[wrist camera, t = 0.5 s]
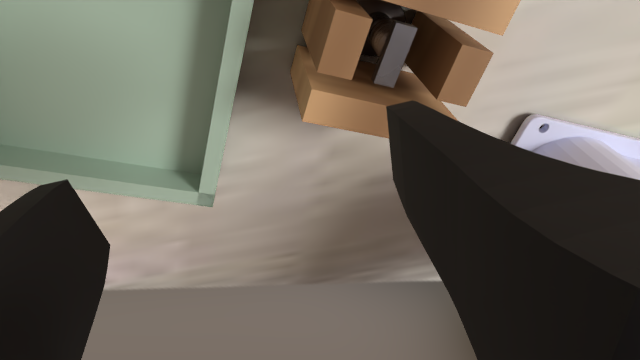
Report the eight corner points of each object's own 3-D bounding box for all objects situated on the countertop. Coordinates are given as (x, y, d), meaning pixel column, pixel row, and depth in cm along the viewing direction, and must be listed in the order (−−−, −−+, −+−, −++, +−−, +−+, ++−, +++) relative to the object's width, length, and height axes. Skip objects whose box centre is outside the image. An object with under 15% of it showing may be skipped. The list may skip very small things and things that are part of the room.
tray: (263, -69, 15) (266, -62, 14) (214, 181, 21) (212, 207, 20) (-77, -176, 13) (-123, -183, 11) (-28, 145, 18) (-53, 172, 17)
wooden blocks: (480, -72, 16) (548, -55, 13) (407, 98, 20) (444, 149, 17) (341, -123, 15) (374, -121, 11) (290, 72, 19) (302, 121, 15)
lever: (410, 1, 18) (441, 25, 15) (388, 60, 19) (413, 92, 16) (355, -16, 17) (377, 7, 14) (336, 47, 18) (352, 78, 16)
